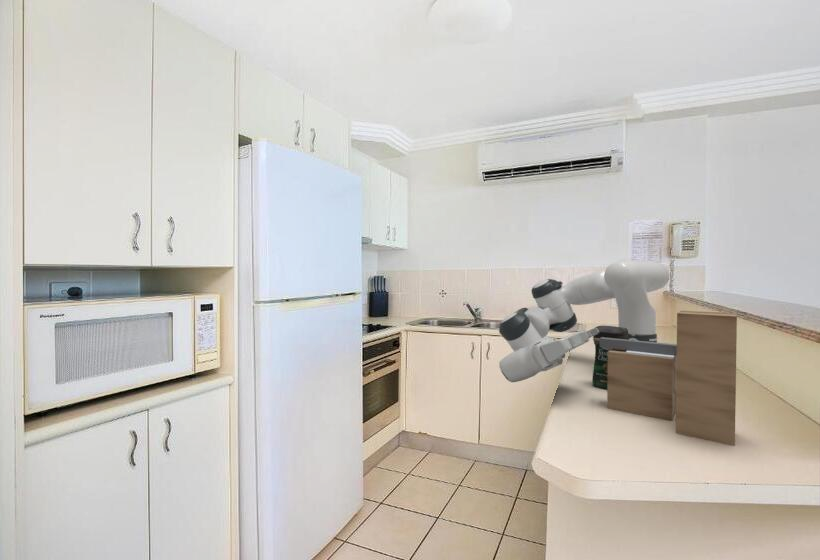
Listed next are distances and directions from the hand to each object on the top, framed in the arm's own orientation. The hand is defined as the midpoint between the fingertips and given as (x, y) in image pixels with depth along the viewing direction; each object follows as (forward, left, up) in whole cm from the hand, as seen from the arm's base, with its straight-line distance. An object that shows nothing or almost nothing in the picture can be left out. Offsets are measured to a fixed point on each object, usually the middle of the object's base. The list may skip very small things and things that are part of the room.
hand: (593, 332), depth 109 cm
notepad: (0, +14, -4) cm, 14 cm away
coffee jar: (-17, +1, -19) cm, 26 cm away
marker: (0, +13, -4) cm, 13 cm away
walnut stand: (+4, +18, -19) cm, 26 cm away
